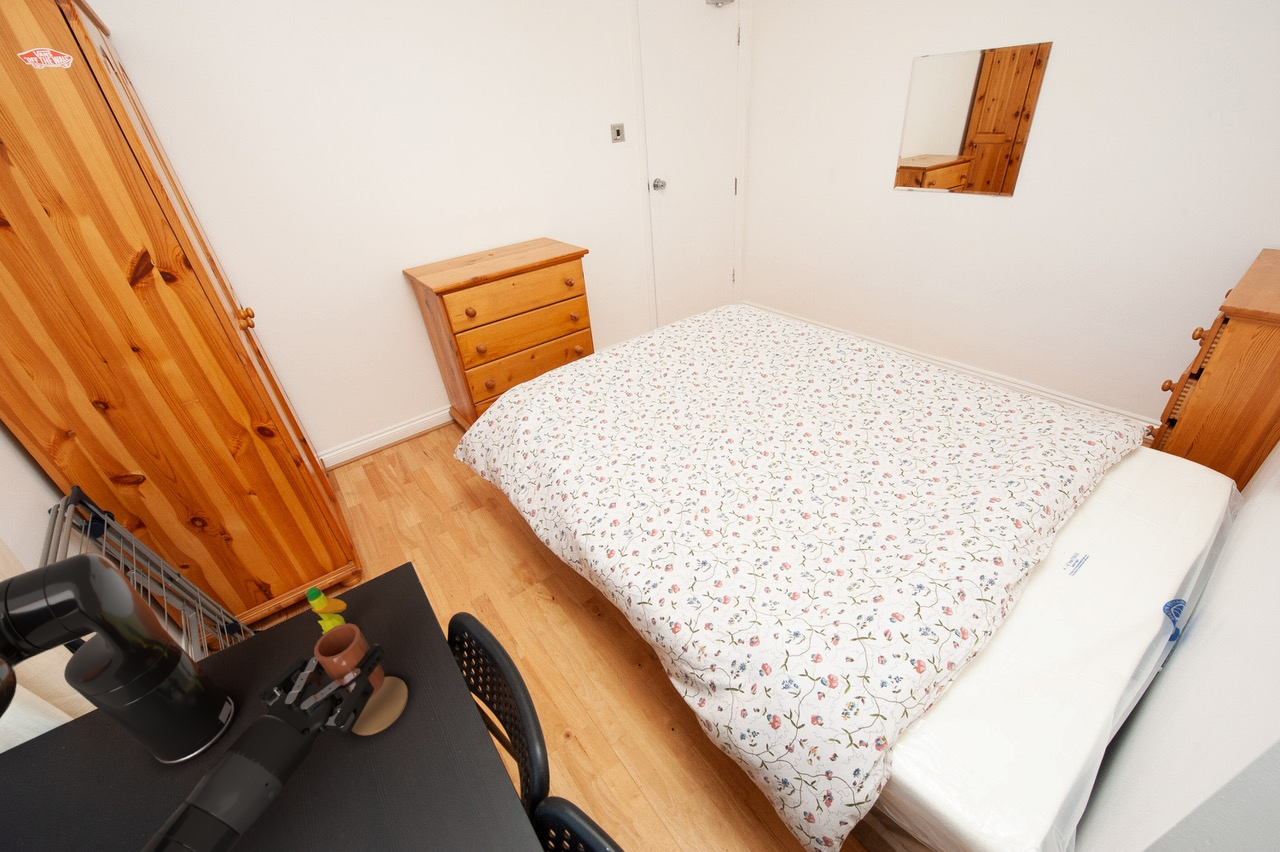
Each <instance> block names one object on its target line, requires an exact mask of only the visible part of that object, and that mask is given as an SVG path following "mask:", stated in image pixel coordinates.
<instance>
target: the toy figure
mask: <svg viewBox="0 0 1280 852" xmlns="http://www.w3.org/2000/svg"><path fill="white" fill-rule="evenodd" d="M305 595H306V596H307V601H308V603H309V604H310V605H311V607H312V608H311V611H312V612H314V613H316V614H317V615H318V616H319V617H320V618H321V620H317V622H318V624H319V625H320V626H321V629H322V630H323V631H321V634H322V636H323V635H324V634H325V633H326V632H328V631H329V630H330V629H332V628H334V627H336V626H339V625H342V624H346V621H345V618H344V616H342V615H340V614H339V613H343V612H344V611H345V610H346V609H347V605H348V604H347V603H345V601H343V600H341V599H338V598H332V597H331V598H329V597H326V595H325V593H323V590H321V589H318V588H317V587H316V586H313V587H311V588H309V589H308V590H306V592H305Z"/></svg>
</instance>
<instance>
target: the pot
mask: <svg viewBox="0 0 1280 852" xmlns="http://www.w3.org/2000/svg"><path fill="white" fill-rule="evenodd" d="M370 648H371V647H370V645H369V643H368V641H367V640H366V639H365V636H364V635H363V633H362V631H361V629H360V628H359V627H358V626H357V624H353V623H345V624H342V625H339V626H336V627H334V628H332V629H330V630H329V631H328V632H326V633H325V634H324V635H323V634H322V636H320V638H319V639H318V640H317V642H316V643H315V645H314V648H313V654H314V657H315V656H316V658H317V659H318V661H319V662H320V664H321V665H322V667H323V668H324V670H325V673H326V674H327V675H328V677H329V678H330V680H331V681H332V682H333V681H335V680H337V679H339V680H340V679H342V678H343V677H345V676H346V675H347V674H349V673H350V672H351V671H353V670H354V669H356V668H355V666H356V665H357V664H358V663H359V661H360V660H361V659H362V658H363V657H364V655H365V654H366V653H367V652H368V650H369V649H370ZM385 677H386V675H385V671H384V670H383V668H382V666H381V664H380V663H379V664H378V665H377V667H376V668H375V669H374V671H373V672H372V673H371V674H370V676H369V677H368V679H369V681H370V682H371V684H372V686H373V687H374V692H373V693H372V695H371V697H373V696H374V695H375V694H376V693H377V692H378V691H379V690H380V688H381V687H382V685H383V683H384V679H385ZM353 683H354V681H353V682H352V683H350V684H349V685H348V686H347V687H349V686H350V685H351V684H353ZM347 687H346V688H347ZM371 697H370V698H371Z"/></svg>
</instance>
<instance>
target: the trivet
mask: <svg viewBox="0 0 1280 852" xmlns="http://www.w3.org/2000/svg"><path fill="white" fill-rule="evenodd" d="M408 699H409V689H408V686H407V685H406V683H405V681H404V680H402V679H401V678H399V677H397V676H385V679H384V683H383V685H382V687H381V688H380V690H379V691H378V692H377V693H376V694H375V695H374V696H373V697H371V698H370V699H369V700H368V702H367V704H366V706H365V707H364V709H363V711H362V713H361V714H360V716H359V718H358V720H357V721H356V723H355V725H354V727H353V728H352V730H351V732H352V733H354V734H356V735H358V736H372V735H375V734H378V733H380V732H382V731H385V730H386V729H388V727H390V726H391V725H392V724H394V723H395V722H396V721H397V719H399V718H400V716H401V715H402V713H403V711H404V710H405V708H406V706H407V703H408Z"/></svg>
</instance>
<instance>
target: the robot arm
mask: <svg viewBox="0 0 1280 852" xmlns="http://www.w3.org/2000/svg"><path fill="white" fill-rule="evenodd" d="M93 633H96V634H94V635H93V636H92V637H90V638H89V639H87V640H86V642H84V643H83V644H82V645H81V646H80V647H79V648H78V649H77V650H76V651H75V652H74V653H73V654H72V655H71V657H70V659H69V660H68V661H67V664H66V665H65V668H64V673H63V674H64V679H65V682H66V684H68V685H69V686H70V687H71V689H73V690H74V691H76V692H77V693H78V694H79V695H80V696H82V697H83V698H84V699H85V700H87V701H88V702H89V703H90V704H92V706H94V707H96V709H98V710H99V711H100V712H102V713H103V714H104V715H105V716H106V717H108V718H109V719H110V720H111V721H112V722H113V723H115V724H116V725H117V726H118V727H119V728H121V729H122V730H123V731H124V732H125V733H126V734H128V735H129V736H130V737H132V738H133V739H134V740H135V741H136V742H138V744H139V745H141V746H142V747H143V748H145V750H147V751H148V752H149V753H150V754H151V755H153V756H154V758H155V759H156V760H157V761H159V762H160V763H161V764H163V765H166V766H177V765H182V764H184V763H187V762H190V761H192V760H194V759H196V758H197V757H199V756H200V755H202V754H204V753H205V752H207V751H208V750H209V749H211V748H212V747H213V746H214V745H215V744H217V743H218V741H219V740H221V738H222V737H223V736H224V735H225V734H226V733H227V731H228V730H229V728H230V727H231V725H232V723H233V721H234V719H235V715H236V704H235V702H234V701H233V700H232V699H231V698H230V696H227V694H225V693H224V691H223V690H222V689H221V688H220V687H219V686H218V685H217V683H216V682H214V681H213V679H212V678H211V677H210V676H209V675H208V674H207V673H206V672H205V671H204V669H202V667H200V666H199V664H198V663H197V662H196V661H195V660H194V659H193V658H192V657H191V656H190V655H189V654H188V653H187V651H186V650H185V649H184V648H183V647H182V646H181V645H180V644H179V643H178V642H177V641H176V640H175V638H174V637H172V636H171V634H170V633H169V632H168V631H167V630H166V629H165V627H164V626H163V625H162V624H161V622H160V621H159V619H158V617H157V615H156V614H155V612H154V611H153V609H152V608H151V606H149V604H148V603H147V602H146V601H145V599H144V598H143V597H142V596H141V595H140V593H139V591H137V590H136V588H135V587H134V586H133V585H132V583H131V582H130V580H129V579H128V578H127V577H126V575H125V574H124V573H123V571H122V570H121V569H120V568H119V567H118V566H117V564H115V562H113V561H112V560H111V559H109V558H108V557H107V556H104V555H103V554H101V553H96V552H84V553H79V554H76V555H72V556H69V557H67V558H64V559H60V560H58V561H55V562H52V563H49V564H46V565H43V566H41V567H38V568H37V567H36V568H35V569H31V570H29V571H26V572H22V573H20V574H17V575H14V576H12V577H8V578H6V579H4V580H2V581H0V720H1V719H2V717H4V715H5V713H6V712H7V711H8V709H9V707H11V705H12V703H13V700H14V698H15V695H16V693H17V685H18V678H17V673H16V669H15V668H16V667H17V666H19V665H20V664H22V663H24V662H25V661H27V660H29V659H31V658H33V657H36V656H39V655H41V654H44V653H46V652H48V651H50V650H53V649H56V648H58V647H62V646H64V645H66V644H69V643H71V642H74V641H76V640H79V639H81V638H84V637H86V636H89V635H91V634H93ZM384 654H385V652H384V649H383V647H382V646H381V644H377V643H373V644H372V645H371V647H370V649H369V650H368V652H367V653H366V654H365V655H364V657H363V658H362V659H361V660H360V661H359V663H358V664H357V665H356V666H355V668H356V669H354V670H353V671H351V672H350V673H349V674H347V675H346V676H345V677H343V678H342V679H340V680H339V679H337V680H335V681H332V682H331V683H329V684H328V685H322V680H323V678H324V676H325V674H326V671H325V670H324V668H323V667H322V665H321V664H320V662H319V661H318V659H317V658H316V656H315V655H314V656H313V657H312V658H307V659H306V657H304V656H302V657H299V658H298V659H297V660H295V661H294V662H293V663H292V664H291V665H289V666H288V667H287V668H286V669H285V670H283V671H282V672H281V673H280V674H279V675H278V676H277V677H276V678H274V680H272V681H271V682H270V683H269V684H267V685H266V686H265V687H264V688H263V689H262V690H261V691H259V693H258V694H257V695H258V696H257V697H258V698H259V699H260V701H261V702H262V704H263V705H264V706H266V708H267V709H268V711H267V713H266V714H261V715H258V716H257V717H256V718H255V719H254V720H253V721H252V722H251V723H250V725H249V726H248V727H247V728H246V729H245V730H244V731H243V732H242V733H241V735H239V737H238V738H237V739H236V740H235V741H234V742H232V744H231V745H229V747H228V749H227V750H225V752H223V754H222V755H221V756H220V757H219V758H218V759H217V761H216V762H215V763H214V764H212V766H210V768H209V769H208V770H207V771H206V773H204V775H202V777H201V778H200V779H199V781H198V782H197V783H196V785H195V786H194V787H193V789H192V790H191V792H190V793H188V795H187V797H186V798H185V799H184V800H183V802H181V803H180V804H179V806H178V807H177V808H176V809H175V810H174V811H173V812H172V813H171V814H170V815H169V816H168V817H167V819H166V820H165V821H164V822H163V823H162V824H161V825H160V826H159V828H157V830H156V831H155V832H153V834H152V835H150V837H149V838H148V839H147V840H146V842H145V843H143V845H142V846H141V847H140V848H139V850H138V851H137V852H231V850H232V849H233V848H234V846H235V845H236V844H237V843H238V841H239V840H240V839H241V837H242V836H243V835H244V834H245V833H246V832H247V831H248V830H249V829H250V827H252V825H253V824H254V823H255V822H256V821H257V820H258V819H259V818H260V817H261V816H262V814H264V812H265V811H266V810H267V809H268V807H269V806H270V805H271V803H272V802H273V801H274V800H275V798H276V797H277V796H278V794H279V793H280V792H281V791H282V789H283V788H284V787H285V786H286V785H287V783H288V782H289V781H290V779H292V777H293V775H294V774H295V773H296V772H297V770H298V769H299V768H300V767H301V765H302V764H303V763H304V761H305V760H306V759H307V758H308V756H309V755H310V754H311V753H312V750H313V748H314V745H315V742H316V740H317V739H318V738H320V737H321V736H322V735H323V734H325V733H326V732H328V730H338V731H340V733H341V734H342V735H344V736H345V735H348V734H349V733H351V732H352V728H353V727H354V725H355V723H356V721H357V720H358V718H359V716H360V714H361V713H362V711H363V709H364V707H365V706H366V704H367V702H368V700H369V699H370V697H371V695H372V693H373V692H374V687H373V686H372V684H371V682H370V681H369V679H368V677H369V676H370V674H371V673H372V672H373V671H374V669H375V668H376V667H377V665H378V664H380V663H381V662H382V661H383V659H384ZM298 671H299V672H298ZM297 672H298V673H297ZM296 673H297V674H296ZM353 681H354V683H353V684H351V685H350V686H349V687H347V686H348V685H349V684H350V683H352V682H353ZM346 687H347V688H346ZM335 693H338V697H337V696H336V694H335Z"/></svg>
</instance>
